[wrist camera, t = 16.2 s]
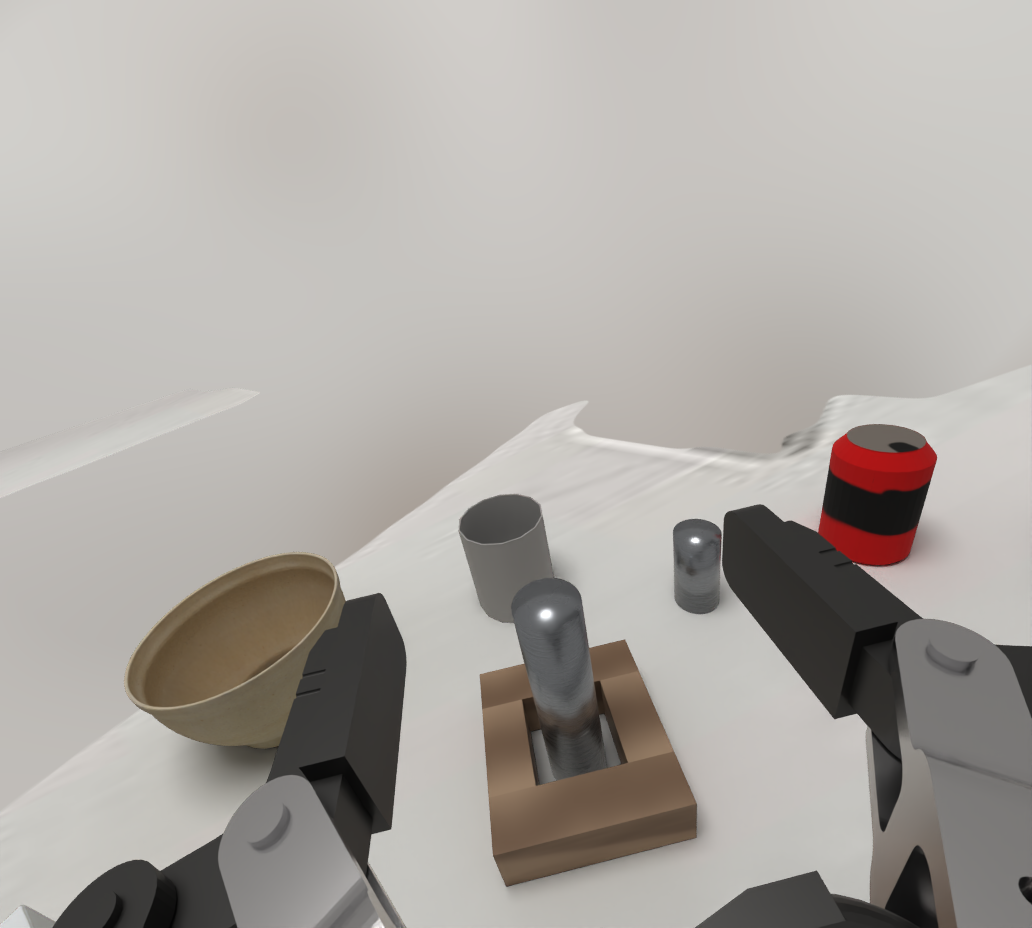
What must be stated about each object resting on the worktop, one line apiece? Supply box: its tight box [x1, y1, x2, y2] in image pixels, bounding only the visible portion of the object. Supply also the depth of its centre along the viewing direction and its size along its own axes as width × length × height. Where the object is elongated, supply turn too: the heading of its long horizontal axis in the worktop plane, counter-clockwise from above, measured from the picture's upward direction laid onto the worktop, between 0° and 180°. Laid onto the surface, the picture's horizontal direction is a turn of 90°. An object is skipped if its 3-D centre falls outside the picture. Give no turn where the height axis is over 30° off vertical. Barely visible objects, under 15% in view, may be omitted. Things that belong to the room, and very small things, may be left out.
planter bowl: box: [124, 552, 346, 748], centre depth 40 cm, size 16×16×11 cm
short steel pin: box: [673, 519, 722, 614], centre depth 42 cm, size 4×4×8 cm
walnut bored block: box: [480, 640, 697, 886], centre depth 32 cm, size 12×12×4 cm
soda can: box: [818, 424, 937, 565], centre depth 44 cm, size 8×8×12 cm
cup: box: [459, 494, 554, 623], centre depth 47 cm, size 8×8×10 cm
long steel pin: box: [511, 578, 606, 781], centre depth 29 cm, size 4×4×16 cm
